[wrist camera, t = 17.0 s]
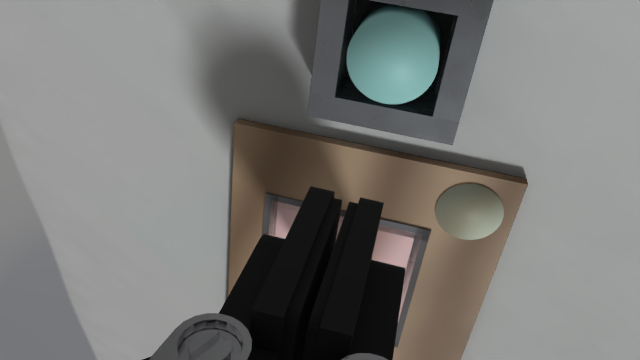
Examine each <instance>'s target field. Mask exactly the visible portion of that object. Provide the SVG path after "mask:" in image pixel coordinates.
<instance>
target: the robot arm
mask: <svg viewBox="0 0 640 360" xmlns="http://www.w3.org/2000/svg"><path fill="white" fill-rule="evenodd" d="M334 195H335V192H334V191H330V190H326V189H321V188H317V187H313V186H311V187H310V188H309V190H308V192H307V194H306V196H305V199H304V201H303V203H302V205H301V207H300V209H299V211H298V213H297V215H296V217H295V219H294V222H293V224H292V226H291V228H290V230H289V232H288V234H287V236H286V238H285V239H283V238H279V237H275V236H271V235H267V234H263V235H262V236H261V238H260V239H259V241H258V243H257V245H256V247H255V248H254V250H253V252H252V254H251V256H250V258H249V259H248V261H247V263H246V265H245V267H244V268H243V270H242V272H241V274H240V276H239V278H238V279H237V281H236V283H235V285H234V287H233V289H232V290H231V292H230V294H229V296H228V298H227V300H226V301H225V303H224V305H223V307H222V309H221V311H220V312H219V314H216V313H207V314H202V315H198V316H194V317H192V318H190V319H188V320H186V321H184V322H183V323H182V324H180V325H179V326H178V327H177V328H176V329H175V330H174V331H173V332H172V333H171V335H170V336H169V337H168V338H167V339H166V340H165V342H164V343H163V344H162V345H161V346H160V347H159V348H158V350H157V351H156V352H155V353H154V354H153V355H152V356H151V357H149V358H146V359H143V360H393V353H394V346H395V339H396V332H397V325H398V318H399V311H400V304H401V298H402V291H403V284H404V277H405V268H404V267H399V266H395V265H391V264H387V263H383V262H379V261H375V260H372V255H373V250H374V246H375V241H376V237H377V232H378V228H379V223H380V219H381V214H382V210H383V205H384V203H383V202H379V201H374V200H370V199H366V198H361V197H360V199H359V202H358V203H354V202H349V204H348V207H347V210H346V213H345V216H344V219H343V222H342V225H341V227H340V230H339V233H338V236H337V230H338V224H339V219H340V213H341V207H342V200H341V199H337V198H334ZM336 236H337V239H336Z"/></svg>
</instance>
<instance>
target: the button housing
mask: <svg viewBox="0 0 640 360" xmlns="http://www.w3.org/2000/svg"><path fill="white" fill-rule="evenodd" d="M371 1H376V2H382V3H388V4H394V5H399V6H405V7H411V8H416V9H422V10H428V11H434V12H439V13H445V14H451V15H454V19H453V23H452V27H451V31H450V35H449V39H448V43H447V47H446V51H445V55H444V59H443V63H442V67H441V71H440V75H439V79H438V83H437V87H436V91H435V93H432V92H427V91H425V92H424V93H423V94H422V95H420V96H419V97H417V98H416V99H414V100H412V101H409V102H406V103H402V104H384V103H380V102H377V101H374V100H372V99H370V98H368V97H367V96H365V95H364V94H363V93H362V92H360V91H359V90H358V88H357V87H356V86H355V85H354V83H353V81H352V80H351V77H349V76H346V73H347V59H346V58H347V50H348V46H349V44H350V41H351V39H352V33H353V27H354V20H355V13H356V7H357V0H321V1H320V9H319V18H318V27H317V35H316V44H315V53H314V62H313V70H312V79H311V88H310V96H309V105H308V114H307V116H312V117H317V118H322V119H327V120H332V121H337V122H342V123H347V124H351V125H356V126H361V127H366V128H371V129H376V130H381V131H386V132H391V133H395V134H400V135H405V136H410V137H415V138H420V139H425V140H430V141H435V142H439V143H444V144H449V145H453V142H454V138H455V135H456V131H457V127H458V124H459V120H460V117H461V113H462V110H463V106H464V103H465V99H466V96H467V92H468V89H469V85H470V82H471V78H472V74H473V71H474V67H475V64H476V60H477V57H478V53H479V50H480V46H481V43H482V39H483V36H484V32H485V28H486V25H487V21H488V18H489V14H490V11H491V7H492V4H493V0H371Z"/></svg>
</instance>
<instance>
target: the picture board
mask: <svg viewBox="0 0 640 360" xmlns="http://www.w3.org/2000/svg"><path fill="white" fill-rule="evenodd" d="M311 186H313V187H317V188H321V189H326V190H330V191H334V192H335V195H334V198H337V199H341V200H342V207H341V213H340V219H339V224H338V230H337V236H338V233H339V230H340V227H341V225H342V222H343V219H344V216H345V213H346V210H347V207H348V204H349V202H354V203H358V202H359V199H360V197H361V198H366V199H370V200H374V201H379V202H383V203H384V205H383V210H382V214H381V219H380V223H379V228H378V232H377V237H376V241H375V246H374V250H373V255H372V260H375V261H379V262H383V263H387V264H391V265H395V266H399V267H404V268H405V277H404V284H403V291H402V298H401V304H400V311H399V318H398V325H397V332H396V339H395V346H394V353H393V360H461V357H462V355H463V352H464V349H465V347H466V344H467V342H468V339H469V336H470V334H471V331H472V329H473V326H474V323H475V321H476V318H477V316H478V313H479V310H480V308H481V305H482V303H483V300H484V297H485V295H486V292H487V290H488V287H489V284H490V282H491V279H492V277H493V274H494V271H495V269H496V266H497V264H498V261H499V258H500V256H501V253H502V251H503V248H504V245H505V243H506V240H507V238H508V235H509V232H510V230H511V227H512V225H513V222H514V219H515V217H516V214H517V212H518V209H519V206H520V204H521V201H522V199H523V196H524V193H525V191H526V188H527V186H528V183H527V179H524V178H520V177H515V176H510V175H505V174H500V173H496V172H491V171H486V170H481V169H477V168H472V167H467V166H462V165H457V164H453V163H448V162H443V161H438V160H433V159H429V158H424V157H419V156H414V155H409V154H405V153H400V152H395V151H390V150H386V149H381V148H376V147H371V146H366V145H362V144H357V143H352V142H347V141H342V140H338V139H333V138H328V137H323V136H318V135H314V134H309V133H304V132H299V131H294V130H290V129H285V128H280V127H275V126H271V125H266V124H261V123H256V122H251V121H247V120H242V119H238V120H237V121H236V122H235V123H234V149H233V176H232V204H231V232H230V259H229V287H228V296H229V294H230V292H231V290H232V289H233V287H234V285H235V283H236V281H237V279H238V278H239V276H240V274H241V272H242V270H243V268H244V267H245V265H246V263H247V261H248V259H249V258H250V256H251V254H252V252H253V250H254V248H255V247H256V245H257V243H258V241H259V239H260V238H261V236H262V235H263V234H267V235H271V236H275V237H279V238H283V239H285V238H286V236H287V234H288V232H289V230H290V228H291V226H292V224H293V222H294V219H295V217H296V215H297V213H298V211H299V209H300V207H301V205H302V203H303V201H304V199H305V196H306V194H307V192H308V190H309V188H310V187H311ZM337 236H336V239H337Z"/></svg>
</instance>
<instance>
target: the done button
mask: <svg viewBox="0 0 640 360" xmlns="http://www.w3.org/2000/svg"><path fill="white" fill-rule="evenodd" d="M440 46H441V35H440V30H439V26H438V24H437V22H436V20H435V18H434V17H433V15H432V14H431V13H430V12H429V11H428V10H422V9H416V8H411V7H405V6H399V5H394V4H388V3H381V4H379V5H377V6H376V7H374V8H373V9H372V10H370V12H369V13H368V14H367V15H366V16H365V18H364V19H363V21H362V22H361V24H360V26H359V27H358V29H357V30H356V32H355V34H354V35H353V37H352V39H351V41H350V44H349V46H348V50H347V58H346V59H347V68H348V72H349V75H350V77H351V80H352V81H353V83H354V85H355V86H356V87H357V88H358V90H359V91H360V92H362V93H363V94H364V95H365V96H367V97H368V98H370V99H372V100H374V101H377V102H380V103H384V104H402V103H406V102H409V101H412V100H414V99H416V98H417V97H419V96H420V95H422V94H423V93H424V92H425V91H426V90H427V89H428V88H429V87H430V85H431V84H432V82H433V81H434V79H435V76H436V74H437V71H438V65H439V56H440Z"/></svg>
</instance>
